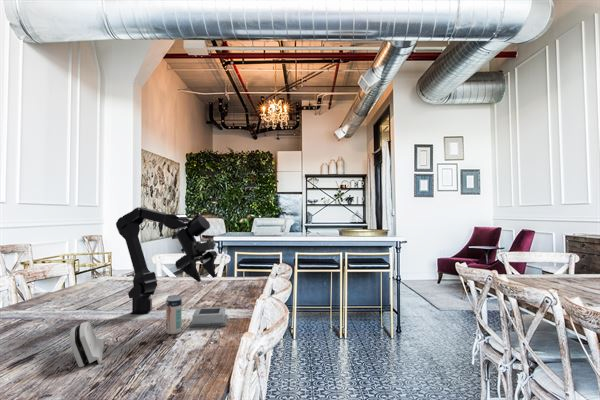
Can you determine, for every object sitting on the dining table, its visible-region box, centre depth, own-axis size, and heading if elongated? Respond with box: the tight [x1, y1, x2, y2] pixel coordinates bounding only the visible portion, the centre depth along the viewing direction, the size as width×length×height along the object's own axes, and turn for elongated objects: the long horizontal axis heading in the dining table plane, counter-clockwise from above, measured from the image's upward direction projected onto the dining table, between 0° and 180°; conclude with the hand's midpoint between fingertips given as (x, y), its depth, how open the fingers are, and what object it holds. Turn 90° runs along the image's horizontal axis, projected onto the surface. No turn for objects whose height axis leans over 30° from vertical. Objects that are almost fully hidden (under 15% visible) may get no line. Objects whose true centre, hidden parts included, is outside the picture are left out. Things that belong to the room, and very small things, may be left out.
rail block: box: [189, 306, 228, 329], centre depth 136 cm, size 12×12×4 cm
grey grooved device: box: [69, 321, 105, 368], centre depth 105 cm, size 17×5×10 cm, turn 25°
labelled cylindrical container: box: [165, 294, 183, 335], centre depth 125 cm, size 5×5×12 cm
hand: (207, 279), depth 140 cm, fingers open, 9 cm apart
